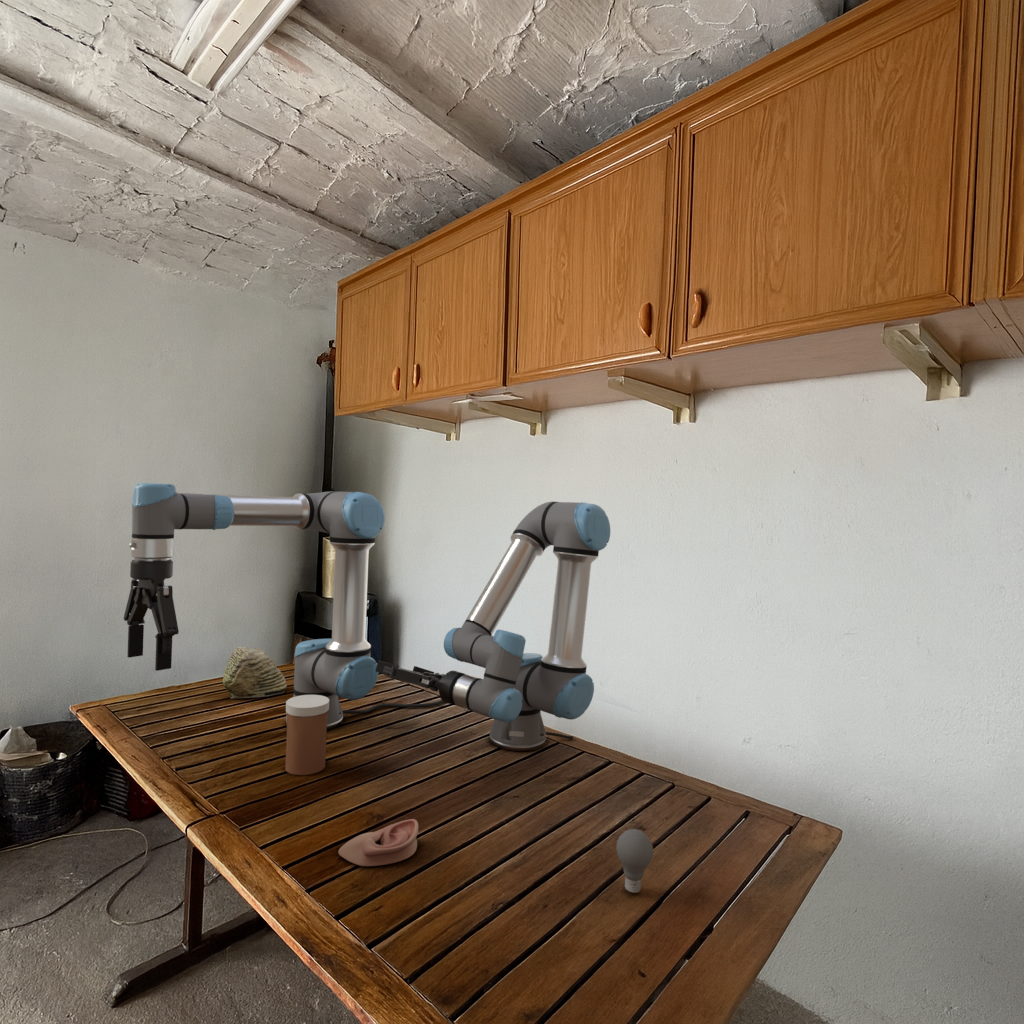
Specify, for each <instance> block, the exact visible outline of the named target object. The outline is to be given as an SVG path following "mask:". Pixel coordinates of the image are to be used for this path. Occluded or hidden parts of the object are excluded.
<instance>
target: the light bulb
mask: <svg viewBox="0 0 1024 1024" xmlns="http://www.w3.org/2000/svg"><path fill="white" fill-rule="evenodd" d="M615 849H616V854H617V857H618V859H619V861H620V863H621V865H622V867H623V873H624V874H623V875H624V876H625V878H624V888H625V890H627V891H628V892H630V893H634V894H635V893H639V892H640V891H641V889H642V887H641V886H642V879H643V877H644V875H645V871H646V868H647V867H648V866H649V864H650V863H651V861H652V859H653V855H654V847H653V843H652V841H651V838H649V836H648V835H647V834H646V833H645V832H643V831H642V830H641V829H636V828H629V829H627V830H625V831H623V832H622V833H621V834H620V835H619V837H618V839H617V841H616V847H615Z"/></svg>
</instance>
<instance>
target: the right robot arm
mask: <svg viewBox="0 0 1024 1024" xmlns="http://www.w3.org/2000/svg"><path fill="white" fill-rule="evenodd" d="M610 539H611V524H610V519H609V517H608V515H607V513H606V511H605V510H604V509H603V508H602V507H601V506H600V505H598V504H595V503H588V502H574V501H573V502H571V501H570V502H569V501H568V502H567V501H546V502H544V503H542V504H541V503H540V505H537V506H536V507H534V508H533V509H531V510H530V511H529V512H528V513H527V514H526V515H525V516H524V517H523V518H522V520H520V521H519V523H518V524H517V526H516V527H515V529H514V530H513V532H512V534H511V535H510V541H511V542H510V544H509V546H508V548H507V550H506V551H505V552H504V555H503V556H502V558H501V560H500V561H499V563H498V565H497V567H496V568H495V570H494V572H493V573H492V575H491V576H490V578H489V580H488V581H487V583H486V585H485V586H484V589H483V590H482V592H481V594H480V595H479V596H478V598H477V600H476V601H475V603H474V605H473V607H472V608H471V610H470V612H469V614H468V615H467V616H466V619H465V621H464V622H463V623H462V625H461V627H453V628H452V629H450V630H449V631H447V633H446V634H445V636H444V640H443V649H444V652H445V654H446V655H447V656H448V657H450V658H452V659H454V660H457V662H461V663H467V664H471V665H474V666H477V667H480V668H483V669H484V673H483V678H481V677H479V676H475V675H471V674H468V673H463V672H461V671H457V670H449V671H447V672H446V673H441V674H440V673H439V672H435V671H432V670H430V669H429V670H428V669H427V668H426V669H425V668H422V667H420V666H417V665H413V668H412V670H411V669H406V668H402V667H400V666H399V663H396V664H392V663H389V662H387V661H383V660H379V659H378V660H377V667H376V672H379V674H382V675H385V676H388V677H389V678H390V679H392V680H397V681H401V682H405V683H409V684H413V685H416V686H420V687H422V688H424V689H430V690H431V691H432V692H438V694H439V697H440V700H443V701H444V702H443V703H447V704H450V705H452V706H456V707H458V708H462V709H463V710H464V712H465V713H468V712H469V711H470V712H473V713H476V714H477V715H480V716H481V715H482V716H483V717H487V718H489V719H491V720H492V719H493V722H492V724H491V726H490V729H489V733H488V734H489V735H488V738H489V739H488V740H489V742H490V744H492V745H493V746H495V747H497V748H499V749H502V750H507V751H512V752H529V751H535V750H538V749H541V748H543V747H544V746H545V745H546V743H547V736H553V737H559V738H563V739H568V740H573V739H574V736H573V735H565V734H561V733H556V732H550V731H546V728H545V725H544V721H543V717H542V713H541V712H543V713H547V714H549V715H552V716H555V717H556V718H559V719H565V720H572V721H573V720H576V719H578V718H580V717H581V716H583V715H584V714H585V712H586V711H587V710H588V708H589V707H590V705H591V703H592V700H593V697H594V694H595V693H594V692H595V683H594V681H593V678H592V676H590V675H589V674H587V667H588V665H587V663H586V661H585V660H584V659H583V647H584V639H585V638H584V637H585V627H586V618H587V609H588V601H589V600H588V599H589V589H590V580H591V572H592V564H593V563H594V562H595V561H596V560H598V558H599V554H600V553H599V552H600V551H602V550H604V549H605V548H606V547H607V546H608V543H609V542H610ZM550 546H553V547H552V553H553V555H554V556H555V558H556V559H557V566H556V575H555V584H554V592H553V593H554V594H553V602H552V610H551V611H552V612H551V622H550V623H551V624H550V629H549V630H550V631H549V638H548V648H547V649H548V650H547V653H546V654H545V655H542V654H540V653H534V652H524V651H525V647H526V641H527V640H526V638H525V636H523V635H522V634H519V633H515V632H512V631H508V630H504V629H497V630H496V628H497V627H498V625H499V623H500V621H501V620H502V618H503V617H504V614H505V613H506V611H507V609H508V607H509V606H510V604H511V602H512V601H513V598H514V597H515V595H516V594H517V591H518V590H519V588H520V587H521V584H522V583H523V581H524V579H525V578H526V577H527V576H526V575H527V574H528V572H529V571H530V569H531V567H532V565H533V563H534V562H535V561H536V558H537V557H541V556H542V555H543V553H544V552H545V550H546V549H548V547H550ZM493 634H494V635H493Z"/></svg>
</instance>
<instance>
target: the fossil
mask: <svg viewBox="0 0 1024 1024" xmlns="http://www.w3.org/2000/svg"><path fill="white" fill-rule="evenodd" d="M222 676H223V677H222V685H223V687H224V688H225V690H226V691H228V693H229V698H230V699H250V698H264V697H271V696H275V695H281V694H284V693H285V691H286V689H287V687H288V686H287V680H286V678H285V676H284V674H283V673H282V672H281V669H279V668H278V667H277V665H276V663H275V662H274V660H273V659H272V658H271V657H270V656H269V655H268V654H267V653H266V652H265V650H264V649H263V648H260V647H258V648H251V647H247V646H246V647H245V646H238V647H237V648H236V649H235V650H233V651H232V653H231V656H230V657H229V659H228V660H227V663H226V666H225V668H224V671H223V675H222Z"/></svg>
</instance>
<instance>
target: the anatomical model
mask: <svg viewBox="0 0 1024 1024" xmlns="http://www.w3.org/2000/svg"><path fill="white" fill-rule="evenodd" d="M418 834H419V822H418V820H417V819H415V818H410V819H409V818H408V819H403V820H401V821H398V822H394V823H391V824H390V825H387V826H385V827H383V828H380V829H377V830H375V831H369V832H365V833H362V834H359V835H357V836H355V837H353V838H351V839H350V840H348V841H347V842H346V843H344V844H343V845H342V846H341V847H340V848H339V849H338V852H337V853H338V855H339V856H340V857H341V858H343V859H344V860H346V861H347V862H349V863H352V864H354V865H356V866H359V867H376V866H384V865H391V864H395V863H398V862H402V861H404V860H407V859H408V858H410V857H411V856H413V855H414V854H415V853H416V851H417V849H418V839H417V836H418Z"/></svg>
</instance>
